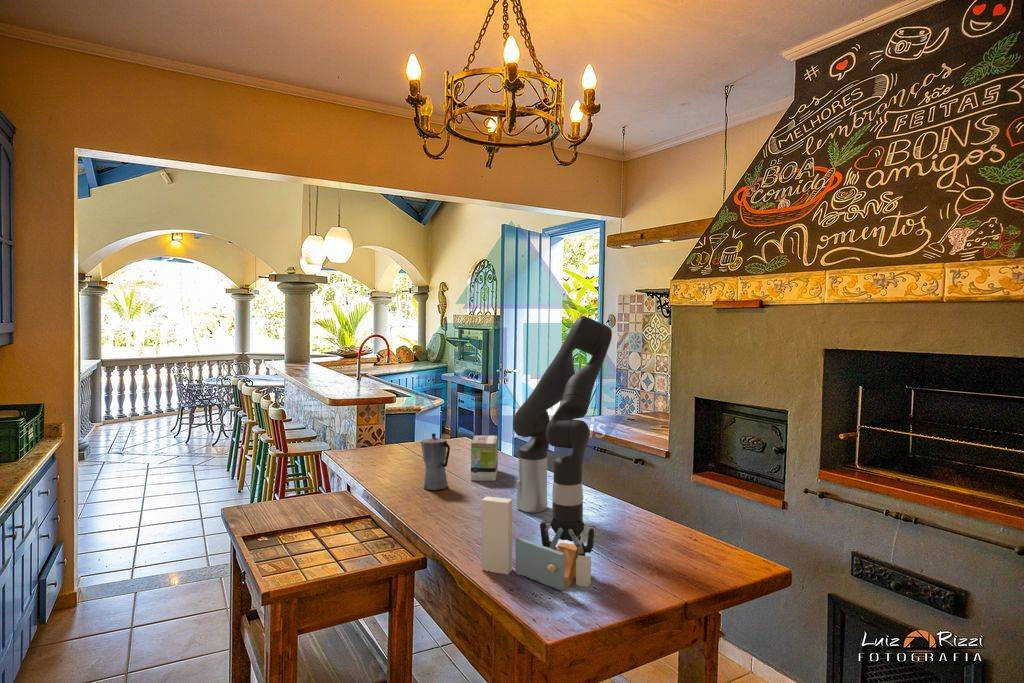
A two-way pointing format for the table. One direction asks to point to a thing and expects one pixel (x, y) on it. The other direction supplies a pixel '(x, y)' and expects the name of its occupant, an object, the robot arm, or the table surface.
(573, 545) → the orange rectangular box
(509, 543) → the door frame
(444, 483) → the moka pot
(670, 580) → the table surface
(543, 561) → the door
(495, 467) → the tea box
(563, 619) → the table surface
